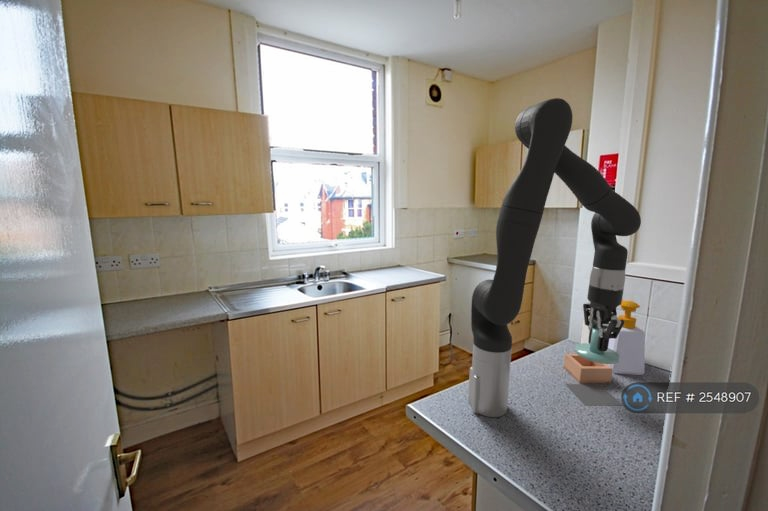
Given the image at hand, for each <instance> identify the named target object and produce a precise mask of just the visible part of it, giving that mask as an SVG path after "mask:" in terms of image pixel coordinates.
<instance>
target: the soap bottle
mask: <svg viewBox="0 0 768 511" xmlns="http://www.w3.org/2000/svg"><path fill="white" fill-rule="evenodd" d="M640 307H641V306H640V305H639V304H638V303H637V302H635V301H632V300H625V299H622V303H621V305H620V310H622V311H624V314H620V315H617V317H618V319H619V320H624V325H623V327H622V329H621V330H620V332H619V334H618V336H617V338H616V339H613V338H610V339H609V344H608V348H609V349H611V350H613V351H615V352H616V353H618V355H619V361H618V362H617V363H615V364H607V365H609V366H610V367H611V368H613V369H612V374H619V375H633V376H634V375H636V376H643V375H644V374H645V359H646V358H645V354H646V352H645V351H646V334H645V333H646V332H645V331H644V330H643V329H641V328H640V327H638V326H637V325H636V323H637V318H636V317H634V316H631V315H632V313H635V312H636V311H637V309H639V308H640ZM606 330H607V329H606ZM612 333H613V332H612Z"/></svg>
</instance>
